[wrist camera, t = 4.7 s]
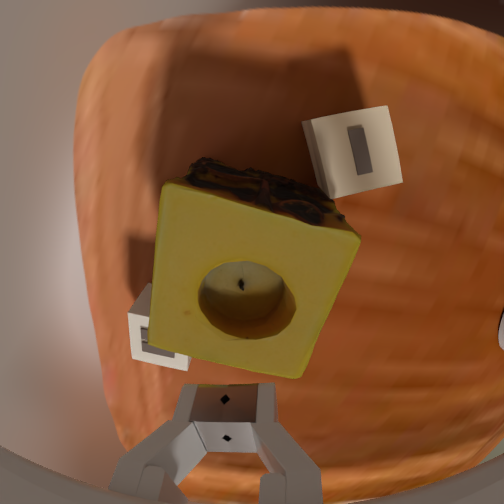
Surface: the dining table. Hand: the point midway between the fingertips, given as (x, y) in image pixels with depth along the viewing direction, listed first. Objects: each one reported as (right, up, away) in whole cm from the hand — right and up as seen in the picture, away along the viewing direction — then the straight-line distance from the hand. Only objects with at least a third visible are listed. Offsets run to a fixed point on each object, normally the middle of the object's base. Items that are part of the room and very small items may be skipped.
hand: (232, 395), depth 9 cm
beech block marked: (+7, +13, +12) cm, 19 cm away
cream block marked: (-7, -1, +18) cm, 20 cm away
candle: (0, +6, +15) cm, 17 cm away
